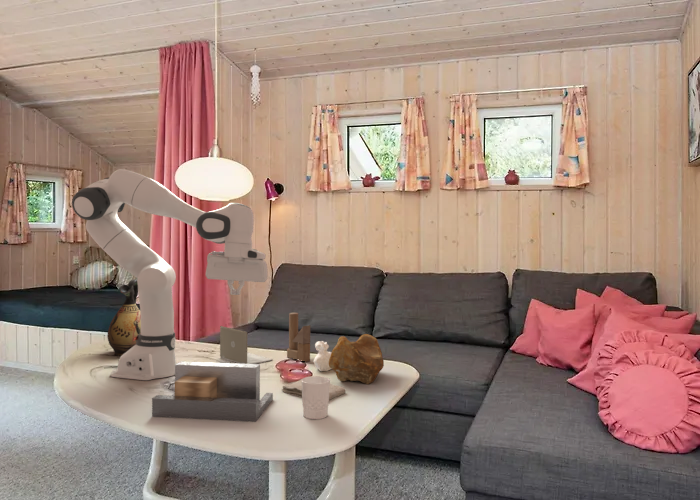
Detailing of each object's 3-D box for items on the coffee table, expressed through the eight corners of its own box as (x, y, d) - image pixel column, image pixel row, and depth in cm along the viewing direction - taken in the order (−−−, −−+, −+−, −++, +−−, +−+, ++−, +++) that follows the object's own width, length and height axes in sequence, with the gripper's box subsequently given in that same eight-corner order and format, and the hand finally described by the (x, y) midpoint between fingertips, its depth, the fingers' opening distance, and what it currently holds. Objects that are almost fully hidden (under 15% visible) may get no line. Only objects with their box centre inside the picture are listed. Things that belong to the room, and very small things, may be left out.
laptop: (273, 361, 214) (273, 328, 214) (246, 366, 205) (246, 332, 205) (245, 353, 227) (245, 322, 226) (219, 358, 218) (219, 325, 217)
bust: (332, 371, 208) (317, 345, 211) (345, 361, 205) (330, 335, 208) (314, 378, 198) (298, 351, 201) (328, 368, 194) (312, 341, 198)
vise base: (152, 416, 150) (152, 398, 150) (180, 395, 169) (180, 379, 169) (255, 421, 147) (256, 403, 147) (272, 399, 166) (272, 383, 166)
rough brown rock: (360, 394, 175) (365, 348, 174) (320, 380, 185) (324, 337, 184) (398, 381, 194) (403, 339, 193) (360, 369, 204) (364, 329, 203)
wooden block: (302, 362, 212) (303, 316, 211) (286, 357, 220) (287, 312, 219) (310, 361, 214) (311, 315, 213) (294, 356, 222) (294, 312, 221)
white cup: (301, 410, 156) (301, 376, 156) (328, 410, 157) (329, 375, 156) (301, 420, 148) (301, 384, 148) (330, 420, 149) (330, 383, 149)
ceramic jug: (139, 358, 215) (139, 282, 214) (100, 357, 215) (100, 281, 214) (155, 348, 232) (155, 278, 231) (119, 348, 232) (119, 277, 231)
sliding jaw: (174, 405, 159) (174, 364, 158) (180, 401, 163) (180, 361, 162) (255, 409, 156) (256, 367, 156) (259, 404, 160) (259, 364, 160)
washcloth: (302, 384, 183) (302, 375, 183) (347, 394, 174) (347, 384, 174) (279, 393, 174) (279, 383, 173) (325, 404, 164) (325, 394, 164)
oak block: (174, 413, 152) (174, 381, 152) (183, 406, 158) (183, 376, 158) (209, 415, 151) (209, 383, 151) (216, 408, 157) (216, 377, 157)
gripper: (204, 250, 179) (201, 293, 178) (265, 253, 176) (262, 296, 175) (211, 251, 185) (208, 292, 184) (270, 254, 182) (267, 296, 182)
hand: (235, 294), depth 180 cm, fingers closed
